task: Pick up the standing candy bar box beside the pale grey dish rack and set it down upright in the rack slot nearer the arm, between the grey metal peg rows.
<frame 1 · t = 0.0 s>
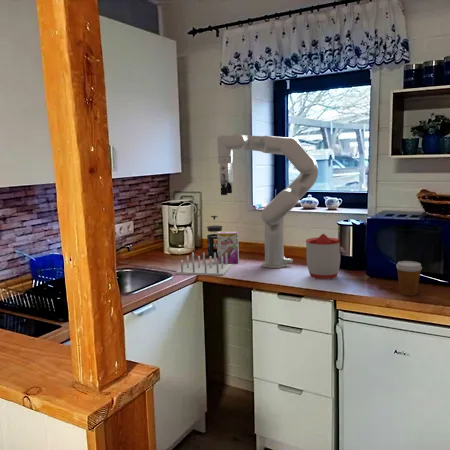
hand: (226, 194, 233), 37 cm above the counter, tool pointing down, fingers open, 9 cm apart
french press: (215, 256, 258), on the counter
disposable coffee cup: (408, 293, 182), on the counter
citrus juicer: (325, 277, 209), on the counter
candy bar box: (228, 263, 242), on the counter
dish rack: (205, 270, 229), on the counter
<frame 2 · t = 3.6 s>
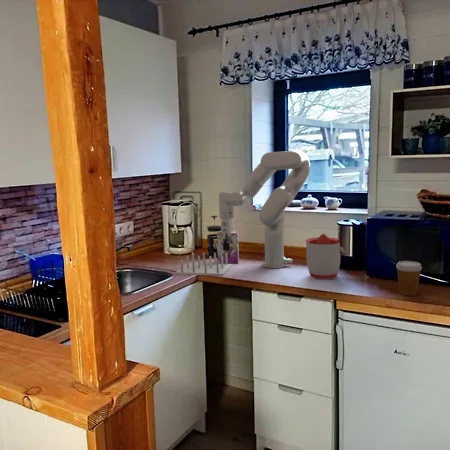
hand: (227, 248, 241), 8 cm above the counter, tool pointing down, fingers closed on candy bar box, 5 cm apart
candy bar box: (228, 263, 242), on the counter, touching gripper
everything else where it was.
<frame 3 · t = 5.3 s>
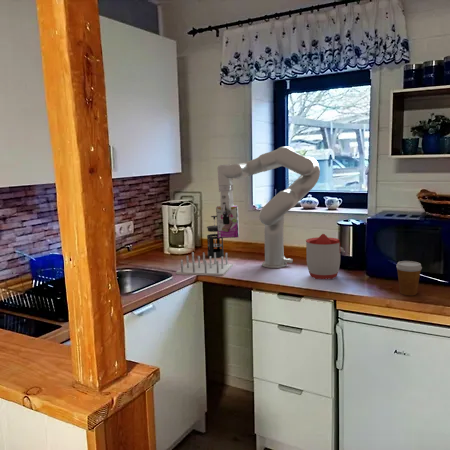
hand: (227, 223, 239), 21 cm above the counter, tool pointing down, fingers closed on candy bar box, 5 cm apart
candy bar box: (228, 237, 240), point 14 cm above the counter, touching gripper
everything else where it was.
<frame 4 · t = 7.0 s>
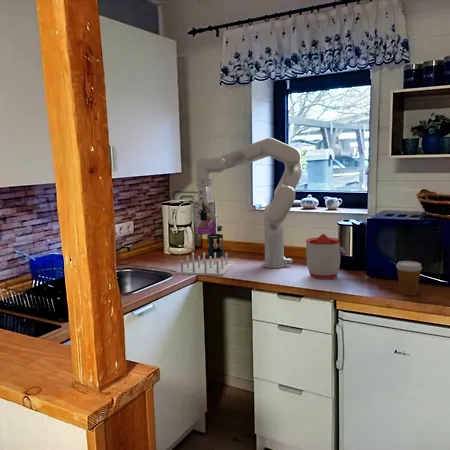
hand: (205, 219, 229), 25 cm above the counter, tool pointing down, fingers closed on candy bar box, 5 cm apart
candy bar box: (206, 234, 230), point 17 cm above the counter, touching gripper
everything else where it was.
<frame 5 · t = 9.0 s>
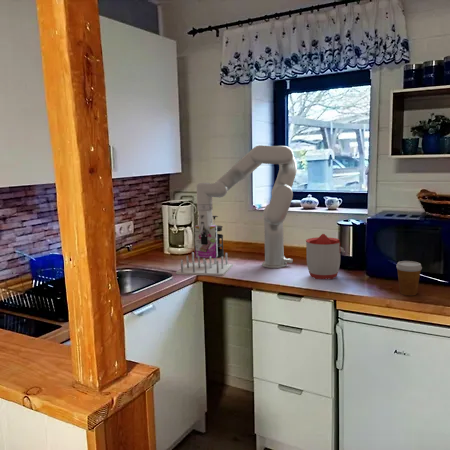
hand: (206, 242, 231), 13 cm above the counter, tool pointing down, fingers closed on candy bar box, 5 cm apart
candy bar box: (206, 257, 232), point 5 cm above the counter, touching gripper
everything else where it was.
when the fingers open (9 cm above the counter, at t = 10.7 s): candy bar box stays where it is, resting on dish rack.
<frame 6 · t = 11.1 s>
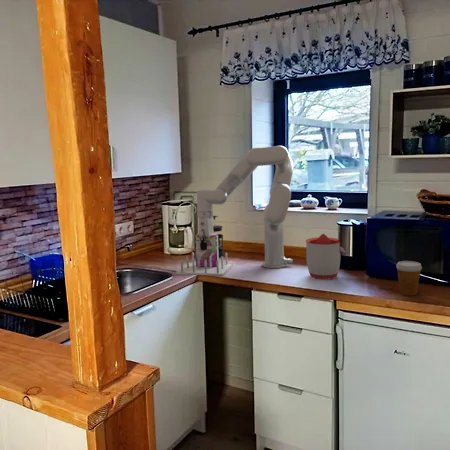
hand: (206, 248, 231), 10 cm above the counter, tool pointing down, fingers open, 9 cm apart
candy bar box: (207, 266, 233), point 1 cm above the counter, touching dish rack
everything else where it was.
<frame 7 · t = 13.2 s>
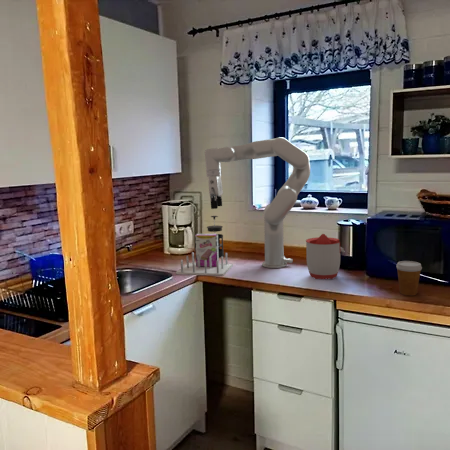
hand: (216, 207, 231), 30 cm above the counter, tool pointing down, fingers open, 9 cm apart
nothing on the counter moved.
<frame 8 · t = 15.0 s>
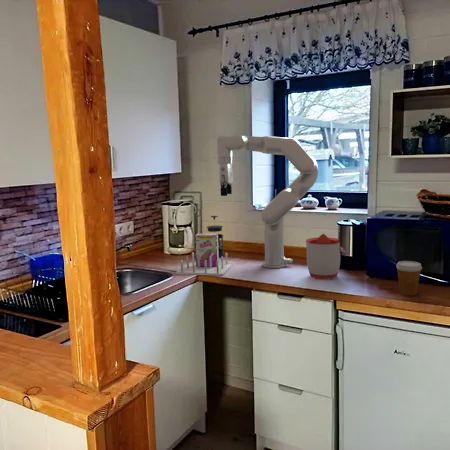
hand: (226, 194, 233), 36 cm above the counter, tool pointing down, fingers open, 9 cm apart
nothing on the counter moved.
at the end: candy bar box 0.2 cm from the target spot on the dish rack, point 0.8 cm above the dish rack's base; candy bar box tilted 0°; the gripper is holding nothing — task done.
